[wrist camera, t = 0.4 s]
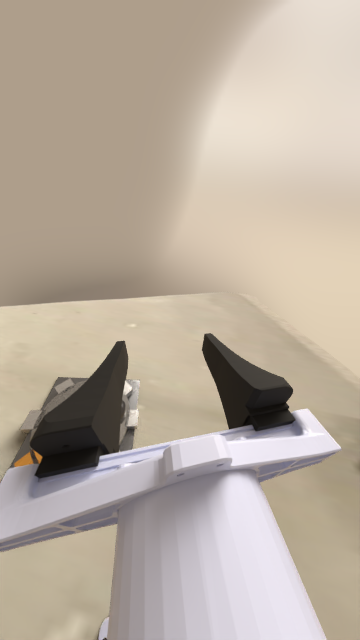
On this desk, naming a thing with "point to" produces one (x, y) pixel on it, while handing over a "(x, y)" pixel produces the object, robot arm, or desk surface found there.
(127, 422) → the sprocket
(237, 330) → the desk surface
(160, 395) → the desk surface
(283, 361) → the desk surface
